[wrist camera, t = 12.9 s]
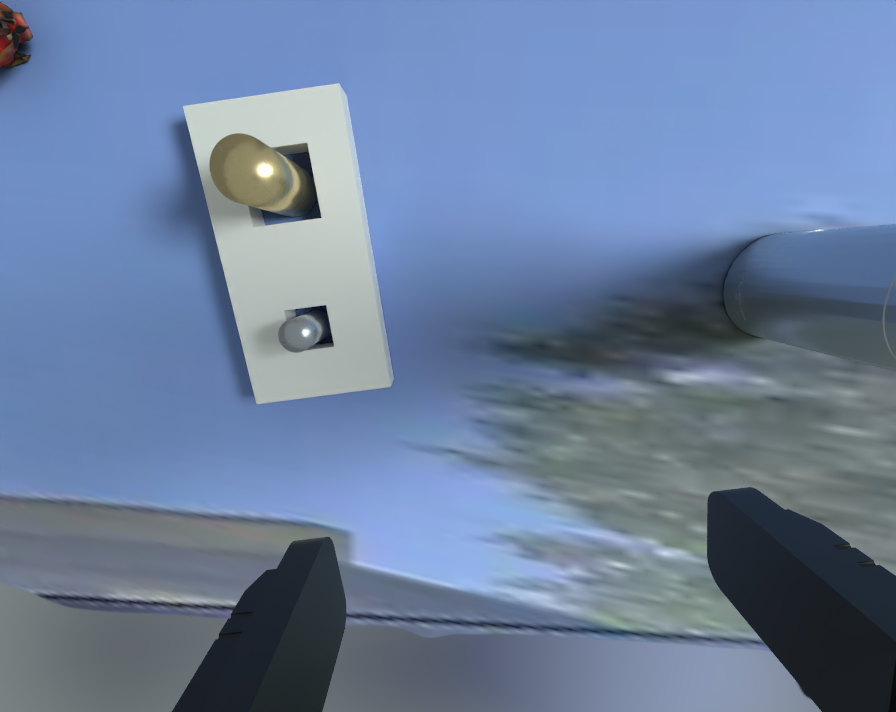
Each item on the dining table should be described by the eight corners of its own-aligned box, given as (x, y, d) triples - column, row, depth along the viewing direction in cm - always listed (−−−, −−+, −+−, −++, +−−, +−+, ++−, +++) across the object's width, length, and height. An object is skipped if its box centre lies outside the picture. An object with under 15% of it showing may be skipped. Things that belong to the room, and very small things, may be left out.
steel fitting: (329, 308, 38) (308, 317, 32) (335, 336, 38) (315, 350, 33) (301, 312, 38) (274, 321, 32) (307, 340, 38) (282, 354, 33)
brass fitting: (310, 160, 35) (267, 128, 26) (321, 213, 36) (282, 199, 27) (261, 168, 35) (201, 138, 26) (273, 220, 36) (219, 208, 27)
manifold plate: (346, 95, 34) (338, 83, 32) (394, 379, 39) (390, 386, 37) (201, 117, 34) (182, 106, 32) (268, 395, 40) (256, 404, 37)
